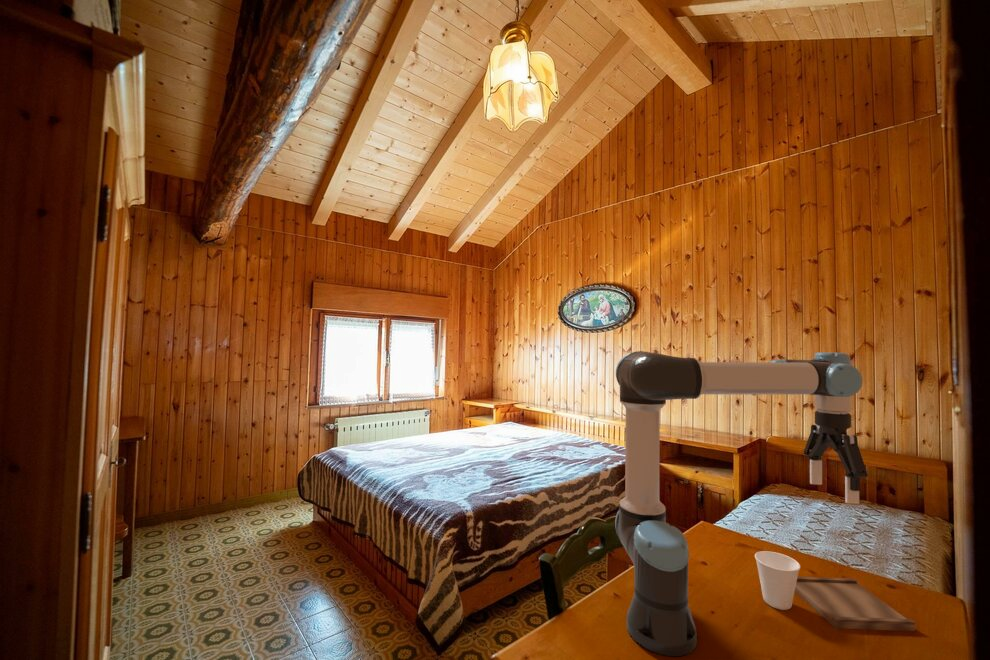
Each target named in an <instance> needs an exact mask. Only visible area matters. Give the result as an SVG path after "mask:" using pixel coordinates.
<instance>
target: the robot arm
mask: <svg viewBox="0 0 990 660" xmlns="http://www.w3.org/2000/svg"><path fill="white" fill-rule="evenodd" d="M615 379H616V382H617V383H618V385H619V402H620V403H621V404H622V405H623V407H624V408H625V452H624V453H625V456H624V457H625V463H624V464H625V465H624V466H625V467H624V468H625V475H624V476H625V477H624V478H625V482H624V483H625V485H624V486H625V487H624V488H625V489H624V490H625V492H624V493H625V495H624V497H623V498H622V499H620V500H619V505H618V506H619V509H618V510H617V512H616V516H615V520H614V523H615V524H614V525H615V531H616V532H615V533H616V535H617V538H618V540H619V541H620V543H621V544H622V546H623V548H624V549H625V552H626V554H627V555H628V556H629V558H630V560H631V562H632V564H633V566H634V569H633V570H634V571H633V573H634V592H633V596H632V598H631V602H630V605H629V607H628V609H627V614H626V629H628V630H627V632H628V634H629V633H630V634H629V636H630V635H631V636H632V637H631V636H630V637H631V638H632V639H633V641H634V642H636V643H637V642H638V643H639V644H638V643H637V644H638V645H640V644H641V645H642V646H643V648H644V647H645V648H644V649H646V650H648V649H649V650H648V651H650V652H653V653H654V654H658V655H662V656H668V657H681V656H686V655H688V654H690V653H692V652H693V651H695V649H696V647H697V638H698V636H697V628H696V625H695V621H694V618H693V615H692V612H691V609H690V606H689V558H690V551H689V545H688V541H687V538H686V536H685V534H684V533H683V532H682V531H681V530H680V529H679V528H677V527H676V526H674V525H670V523H668V522H666V520H667V516H666V509H667V508H666V506H665V505H664V504H663V503H662V502H661V500H660V450H661V449H660V446H661V445H660V432H661V431H660V428H661V427H660V419H661V418H660V413H661V412H660V411H661V409H662V408H664V406H665V405H666V403H667V402H666V401H667V400H668V401H669V400H691V399H692V400H695V399H699V398H700V397H701V395H809V396H813V395H814V409H816V410H815V411H814V424H811V425H810V433H809V434H808V435H809V436H808V438H807V441H806V444H805V447H804V450H803V455H805V456H807V459H808V460H809V484H810V485H817V486H818V485H820V486H821V485H823V460H822V456H823V454H824V453H825V452H826V450H827V449H828V448H831V449H833V451H834V452H836V454H837V455H838V457H839V459H840V461H841V464H842V466H843V467H844V469H845V472H846V474H845V475H844V486H845V487H844V488H845V489H844V498H845V499H844V502H845V503H846V504H858V505H859V504H860V490H861V478H868V477H869V475H868V474H869V473H868V472H867V468H866V465H865V462H864V458H863V456H862V454H861V453H862V452H861V451H860V447H859V443H858V442H859V441H858V436H857V435H855V434H854V435H853V434H852V435H851V434H848V433H847V430H848V429H850V428H852V414H851V413H849V412H851V411H852V396H854V395H857V393H859V392H860V390H861V389H862V387H863V375H862V374H861V371H860V370H859V369H858V368H857V367H855V366H853V365H852V363H851V356H850V355H849V353H846V352H831V351H830V352H828V351H827V352H826V351H825V352H824V351H823V352H822V351H821V352H820V351H818V352H815V353H814V357H813V359H785V358H782V359H772V360H770V361H769V362H766V361H765V362H764V361H763V362H762V361H761V362H757V361H756V362H755V361H753V362H751V361H750V362H749V361H747V362H745V361H743V362H742V361H741V362H740V361H739V362H737V361H736V362H735V361H731V362H730V361H729V362H728V361H726V362H725V361H720V362H719V361H711V362H710V361H699V360H698V359H697V358H696V357H680V356H679V357H678V356H672V355H667V354H662V353H658V352H650V351H643V350H639V351H632V352H630V353H627V354H625V355H624V356H623V357H621V359H620V360H619V361H618V363H617V365H616V368H615ZM641 645H640V646H641ZM642 646H641V647H642Z"/></svg>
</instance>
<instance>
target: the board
mask: <svg viewBox="0 0 990 660" xmlns="http://www.w3.org/2000/svg"><path fill="white" fill-rule="evenodd" d="M794 593H796V594H797V596H799V597H800V598H802V599H803V601H805V602H806V603H807V604H808V605H809V606H811V607H812V608H813V610H815V611H816V612H817V613H818V614H819V615H820V616H821V617H823V618H824V619H825V621H826V622H827V623H829V624H830V625H831V626H833V628H835V629H844V630H845V629H847V630H852V629H853V630H875V631H879V630H880V631H900V632H915V631H916V622H915V621H914V620H913V619H911V618H909V619H908V618H906V617H905V616H903V615H902V614H900V613H899V612H898V611H896V610H895V609H894V608H892V607H891V606H889V604H887V603H886V602H884V601H882V600H881V598H878V597H877V596H875V595H874V594H873V593H871V591H869V590H868V589H866V588H864V587H863V586H862V585H860V584H859V583H858V580H857V579H855V578H845V577H843V578H840V577H813V576H812V577H811V576H798V577H797V582H796V587H795V592H794Z"/></svg>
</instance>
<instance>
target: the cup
mask: <svg viewBox="0 0 990 660" xmlns="http://www.w3.org/2000/svg"><path fill="white" fill-rule="evenodd" d="M754 558H755V560H756V561H755V562H756V566H757V572H758V577H759V581H760V586H761V587H760V588H761V593H762V598H763V601H764V602H765V604H767V605H768V606H771V607H772V608H774V609H777V610H780V611H786V610H789V609H791V608H792V606H793V602H794V595H795V593H796V592H795V587H796V582H797V577H799V571H800V569H801V564H800V563H799V562H798V561H797V560H796V559H794V558H792V557H791V556H788V555H786V554H783V553H780V552H776V551H775V552H774V551H772V550H771V551H770V550H769V551H767V550H762V551H761V550H760V551H757V552H756V553H755V554H754Z"/></svg>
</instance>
